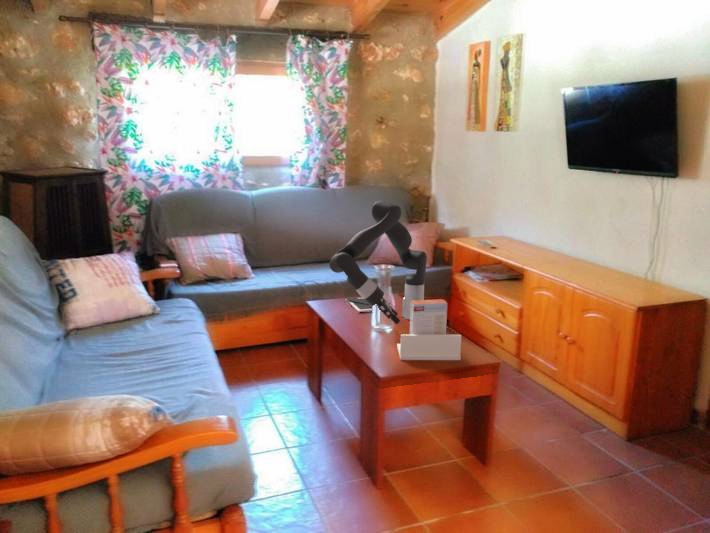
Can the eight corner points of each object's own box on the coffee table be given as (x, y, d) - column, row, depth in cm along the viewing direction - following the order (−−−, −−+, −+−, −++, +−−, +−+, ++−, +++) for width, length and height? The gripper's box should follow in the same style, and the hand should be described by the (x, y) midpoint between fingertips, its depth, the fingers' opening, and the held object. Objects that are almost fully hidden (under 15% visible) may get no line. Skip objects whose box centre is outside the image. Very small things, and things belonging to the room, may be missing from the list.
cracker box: (441, 346, 243) (443, 298, 238) (445, 351, 238) (448, 302, 233) (408, 347, 241) (410, 299, 236) (411, 353, 235) (414, 303, 231)
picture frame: (345, 302, 308) (357, 314, 289) (345, 297, 307) (358, 309, 288) (373, 300, 313) (387, 312, 294) (373, 295, 312) (387, 306, 293)
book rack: (397, 346, 246) (397, 324, 244) (453, 347, 247) (454, 324, 245) (400, 360, 233) (401, 336, 230) (460, 360, 233) (461, 336, 231)
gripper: (377, 289, 225) (406, 318, 228) (375, 280, 239) (402, 307, 242) (363, 303, 226) (392, 331, 229) (362, 292, 240) (388, 319, 243)
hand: (397, 319), depth 236 cm, fingers open, 8 cm apart
